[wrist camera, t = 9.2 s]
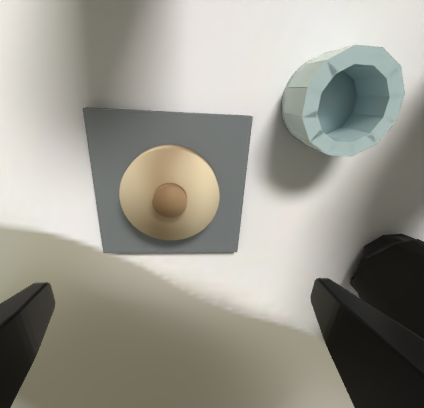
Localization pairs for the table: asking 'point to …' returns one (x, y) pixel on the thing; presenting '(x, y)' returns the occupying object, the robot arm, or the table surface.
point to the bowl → (344, 99)
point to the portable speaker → (394, 279)
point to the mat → (159, 135)
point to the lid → (169, 192)
